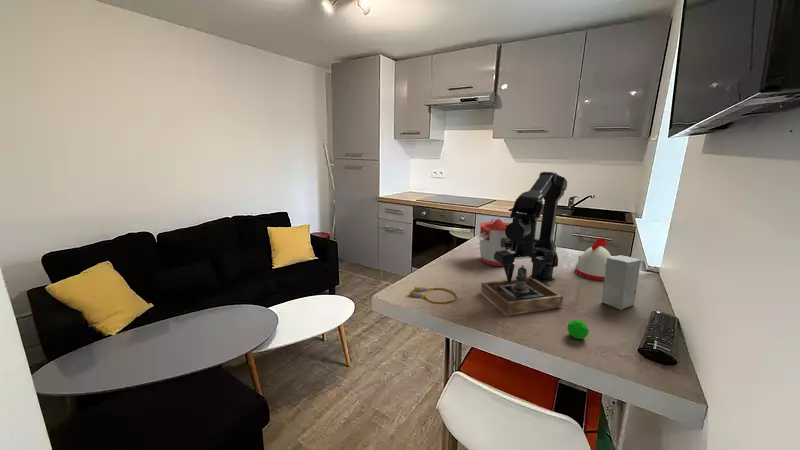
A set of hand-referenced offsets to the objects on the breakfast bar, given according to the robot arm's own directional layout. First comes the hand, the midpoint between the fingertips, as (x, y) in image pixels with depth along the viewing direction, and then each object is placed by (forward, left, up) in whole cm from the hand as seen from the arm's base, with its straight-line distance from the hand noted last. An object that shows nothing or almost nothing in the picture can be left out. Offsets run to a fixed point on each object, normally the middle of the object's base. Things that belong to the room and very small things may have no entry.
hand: (521, 280), depth 106 cm
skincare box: (-30, +10, -8) cm, 33 cm away
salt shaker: (0, 0, -7) cm, 7 cm away
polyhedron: (-2, +23, -8) cm, 24 cm away
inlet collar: (0, 0, -7) cm, 7 cm away
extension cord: (+26, -11, -8) cm, 30 cm away
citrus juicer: (-11, -35, -8) cm, 38 cm away
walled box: (0, 0, -7) cm, 7 cm away
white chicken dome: (-44, -13, -8) cm, 47 cm away
